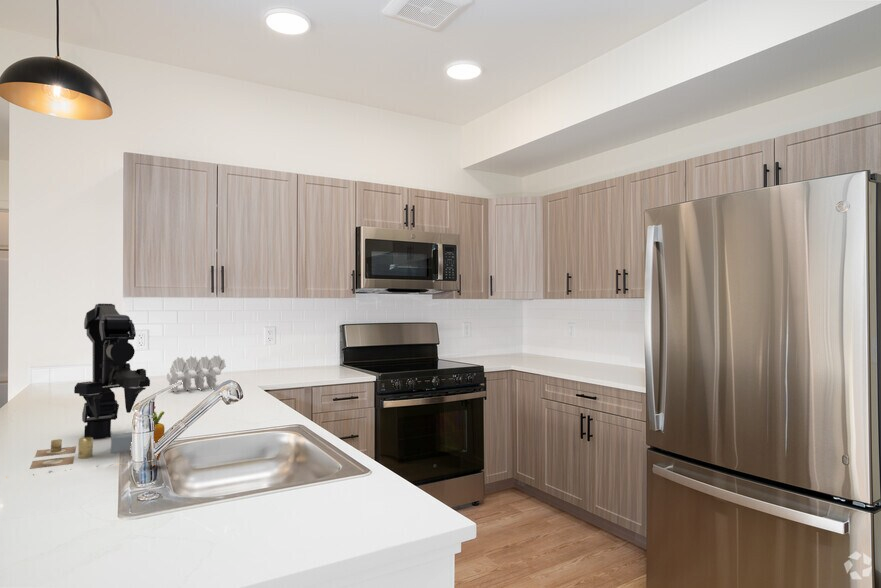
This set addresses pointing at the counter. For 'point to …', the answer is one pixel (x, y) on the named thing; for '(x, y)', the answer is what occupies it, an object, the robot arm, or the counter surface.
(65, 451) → the board
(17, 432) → the counter surface
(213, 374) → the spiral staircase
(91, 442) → the pin
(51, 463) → the build board
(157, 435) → the carrot
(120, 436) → the grey block
